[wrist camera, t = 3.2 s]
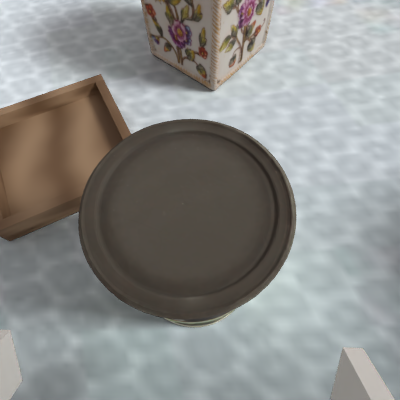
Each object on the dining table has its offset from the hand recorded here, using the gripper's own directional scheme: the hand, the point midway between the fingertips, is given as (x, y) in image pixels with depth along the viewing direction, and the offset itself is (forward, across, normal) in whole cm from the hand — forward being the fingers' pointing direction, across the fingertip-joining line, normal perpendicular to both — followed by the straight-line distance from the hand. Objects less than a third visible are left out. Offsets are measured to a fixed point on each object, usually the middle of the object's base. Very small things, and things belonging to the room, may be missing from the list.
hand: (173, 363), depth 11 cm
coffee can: (+14, 0, +5) cm, 15 cm away
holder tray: (+22, +15, -4) cm, 27 cm away
